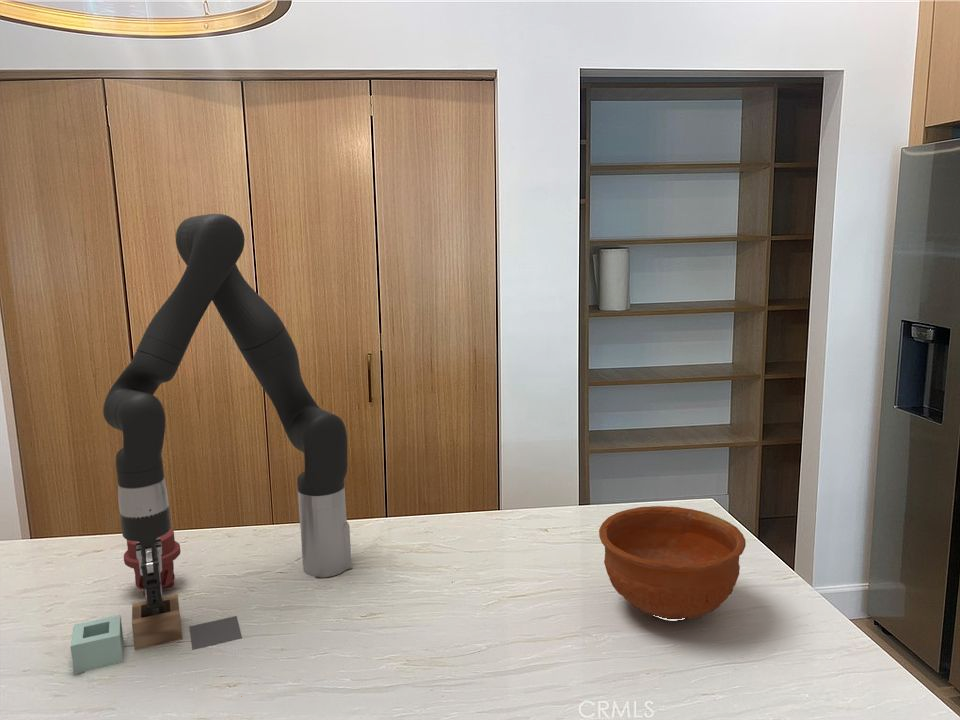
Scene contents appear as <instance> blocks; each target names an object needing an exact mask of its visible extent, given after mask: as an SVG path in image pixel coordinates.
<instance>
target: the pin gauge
mask: <svg viewBox="0 0 960 720" xmlns="http://www.w3.org/2000/svg"><path fill="white" fill-rule="evenodd" d="M157 560H158V558H157ZM142 562H143V561H142ZM160 580H161V579H160ZM160 588H161V586H160ZM144 597H145V601H146V604H147V613H148V616H153V615H158V614H162V613H164V606H163V597H164V596H163V590H162V588H161V597H162V605H160V606H157V607H152V608H149V607H148V602H147V593H146V589H145V596H144Z"/></svg>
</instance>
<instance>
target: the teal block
mask: <svg viewBox="0 0 960 720" xmlns="http://www.w3.org/2000/svg"><path fill="white" fill-rule="evenodd" d="M71 633H72V634H71V640H70V645H69V647H70V652H71V654H70V655H71V659H72V668H73V675H79V674H83V673H85V672H86V671H89V670H93V669H98V668H101V667H106V666H111V665H114V664H119V663H122V662H124V643H125V642H124V634H123V624H122V616H121V614H117V615H112V616H107V617H103V618H102V617H101V618H97V619H93V620H89V621H84V622H79V623H74V624H73V627H72V632H71Z"/></svg>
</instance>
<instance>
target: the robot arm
mask: <svg viewBox="0 0 960 720" xmlns="http://www.w3.org/2000/svg"><path fill="white" fill-rule="evenodd" d="M175 245H176V249H177V252H178V254H179V255H180V257H181V259H182V260H183V263H185V265H186V267H185V269H184V270H185V271H184V272H183V274H182V276H181V277H180V280H179V281H178V283H177V285H176V287H175V288H174V290H173V291H172V292H171V294H170V295H169V296H168V297H167V299H166V300H165V302H164V303H163V304H162V305H161V307H160V308H159V309H158V311H157V312H156V313H155V315H153V317H152V318H151V320H150V323H148V325H147V327H146V330H145V331H144V333H143V335H142V338H141V340H140V342H139V344H138V346H137V347H136V351H135V353H134V354H133V358H132V360H131V361H130V362H129V364H128V365H127V366H126V367H125V368H124V370H123V371H122V373H121V374H120V375H119V377H118V378H117V379H116V381H115V382H114V383H113V385H112V386H111V388H109V391H108V393H107V394H106V396H105V399H104V402H103V409H102V414H103V417H104V420H105V422H106V424H108V425H109V426H110V427H111V428H113V429H115V430H119V431H121V432H122V437H123V438H122V439H123V440H122V442H123V443H122V448H120V450H118V451H117V453H116V454H115V455H116V456H115V469H116V477H117V478H116V479H117V485H118V486H117V487H118V491H117V497H118V498H117V500H118V508H119V509H118V510H119V516H120V517H119V518H120V524H121V526H120V527H121V533H122V534H121V535H122V537H123V538H124V539H125V540H126V541H127V540H129V541H138V542H137V543H136V556H137V559H138V560H139V568H140V574H141V575H142V576H143V581H144V584H143V587H145V589H146V593H147V602H148V607H149V608H152V607H157V606H160V605H162V597H163V596H162V597H161V588H160V586H161V580H160V573H161V571H162V558H161V555H162V544H161V538H160V539H157V538H158V537H160V536H163V535H165V534H166V533H167V532H169V530H170V528H171V529H172V523H171V512H170V505H169V503H170V502H169V495H168V489H167V484H166V480H165V479H166V478H165V474H164V463H163V457H162V452H163V446H164V440H165V432H166V413H165V412H166V411H165V409H164V406H163V404H162V402H161V401H160V399H158V397H156V396H155V393H156V391H157V390H158V388H159V387H160V385H162V384H164V383H168V382H170V381H171V380H173V378H174V377H175V375H176V374H177V371H178V370H179V366H180V365H181V362H182V360H183V358H184V356H185V353H186V351H187V349H188V347H189V345H190V343H191V341H192V339H193V336H194V334H195V332H196V330H197V328H198V326H199V324H200V322H201V320H202V318H203V316H204V315H205V312H206V311H207V310H208V307H209V305H210V304H211V302H212V303H213V305H214V306H215V308H216V311H217V312H218V314H219V316H220V318H221V319H222V322H223V323H224V325H225V327H226V328H227V330H228V331H229V333H230V335H231V337H232V338H233V340H234V343H235V344H236V346H237V348H238V349H239V352H240V353H241V355H242V357H243V359H244V361H245V362H246V363H247V365H248V367H249V368H250V369H251V371H252V373H253V375H254V376H255V378H256V379H257V381H258V383H259V384H260V386H261V387H262V389H263V391H264V392H265V393H266V395H267V396H268V398H269V399H270V401H271V403H272V405H273V406H274V408H275V411H276V413H277V415H278V417H279V419H280V422H281V425H282V426H283V430H284V432H285V433H286V436H287V438H288V440H289V442H290V443H291V445H292V446H293V447H294V448H295V449H297V450H298V451H300V452H302V453H303V455H304V457H303V458H304V471H303V472H300V474H299V475H298V476H297V478H296V484H297V485H296V486H297V498H298V500H297V501H298V512H299V527H300V528H299V529H300V541H301V554H302V555H301V556H302V557H301V558H302V569H303V572H304V573H305V574H306V575H308V576H309V577H315V578H330V577H335V576H337V575H340V574H341V573H344V572H345V571H347V570H351V569H352V567H353V566H352V565H353V563H352V549H351V546H352V545H351V533H350V532H351V531H350V524H349V522H348V521H347V506H346V490H345V479H346V475H347V472H348V463H349V462H348V435H347V433H348V432H347V428H346V425H345V424H344V421H343V420H342V419H341V417H340V416H338V415H336V414H334V413H332V412H329V411H327V410H324V409H322V408H321V407H320V405H318V404H317V402H316V401H315V399H314V398H313V396H312V395H311V393H310V392H309V390H308V389H307V387H306V385H305V383H304V380H303V378H302V374H301V367H300V360H299V354H298V352H297V348H296V345H295V343H294V341H293V339H292V337H291V335H290V333H289V332H288V329H287V328H286V326H285V324H284V323H283V321H282V320H281V317H280V316H279V314H277V312H275V310H274V309H273V308H272V307H271V306H270V305H269V304H268V303H267V302H266V301H265V300H264V299H263V297H261V296H260V295H259V293H257V292H256V291H255V289H254V288H252V287H251V285H250V284H249V283H248V282H247V281H246V279H245V278H244V276H243V275H242V273H241V271H240V269H239V267H238V266H237V262H238V261H239V259H240V257H241V255H242V253H243V251H244V248H245V234H244V230H243V228H242V227H241V225H240V223H239V222H237V220H235V219H234V218H233V217H232V216H229V215H227V214H224V213H209V214H200V215H196V216H195V215H194V216H190V217H188V218H186V219H184V220H183V221H181V223H180V224H179V225H178V227H177V229H176V233H175ZM157 558H158V560H157ZM142 561H143V562H142Z"/></svg>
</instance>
